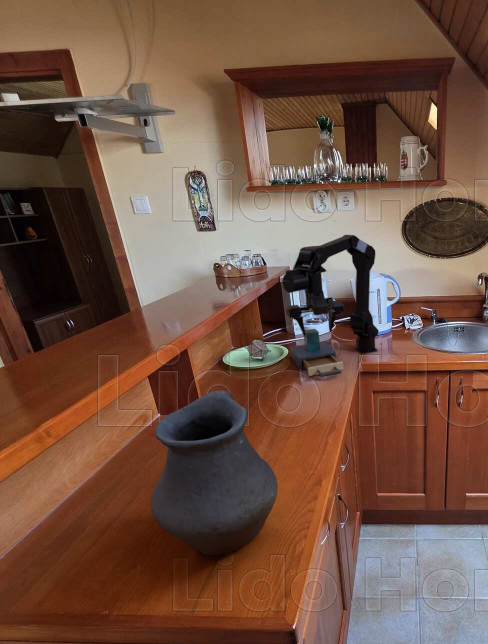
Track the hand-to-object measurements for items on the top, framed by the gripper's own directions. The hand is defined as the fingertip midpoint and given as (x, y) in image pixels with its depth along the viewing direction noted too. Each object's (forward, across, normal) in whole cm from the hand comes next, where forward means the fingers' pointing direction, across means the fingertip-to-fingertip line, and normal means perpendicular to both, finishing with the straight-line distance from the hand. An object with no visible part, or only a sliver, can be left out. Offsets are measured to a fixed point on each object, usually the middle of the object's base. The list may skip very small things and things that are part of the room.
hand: (317, 333), depth 143 cm
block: (+9, 0, +10) cm, 13 cm away
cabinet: (+13, 0, +10) cm, 16 cm away
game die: (+13, -18, +20) cm, 30 cm away
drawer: (+12, 0, -2) cm, 13 cm away
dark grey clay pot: (+14, -38, -69) cm, 80 cm away
